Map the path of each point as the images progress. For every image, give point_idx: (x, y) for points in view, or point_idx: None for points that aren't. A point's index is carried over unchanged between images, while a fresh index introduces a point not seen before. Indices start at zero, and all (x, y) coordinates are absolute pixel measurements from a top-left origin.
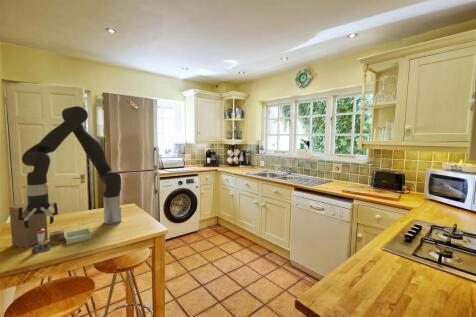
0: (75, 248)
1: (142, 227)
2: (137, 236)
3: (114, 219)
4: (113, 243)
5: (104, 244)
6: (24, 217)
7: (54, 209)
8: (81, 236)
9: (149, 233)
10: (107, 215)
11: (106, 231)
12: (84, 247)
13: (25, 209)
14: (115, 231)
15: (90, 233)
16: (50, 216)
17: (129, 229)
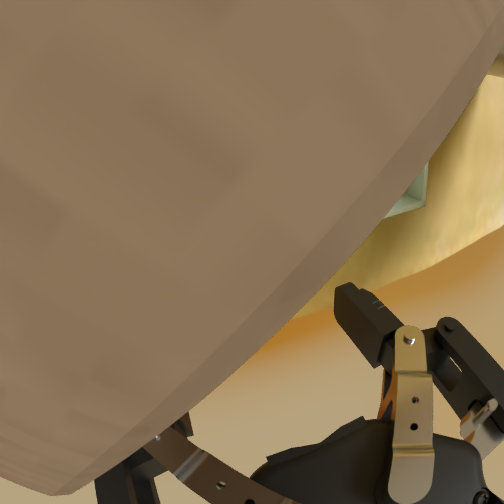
0: (348, 266)
1: (500, 174)
2: (476, 237)
3: (487, 74)
4: (433, 264)
5: (418, 263)
6: (159, 466)
7: (452, 405)
8: (393, 214)
9: (492, 229)
10: (494, 61)
11: (449, 139)
12: (373, 267)
13: (71, 492)
14: (464, 160)
15: (423, 199)
16: (383, 373)
17: (485, 169)
